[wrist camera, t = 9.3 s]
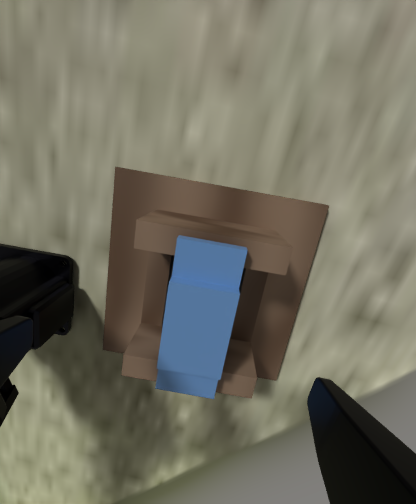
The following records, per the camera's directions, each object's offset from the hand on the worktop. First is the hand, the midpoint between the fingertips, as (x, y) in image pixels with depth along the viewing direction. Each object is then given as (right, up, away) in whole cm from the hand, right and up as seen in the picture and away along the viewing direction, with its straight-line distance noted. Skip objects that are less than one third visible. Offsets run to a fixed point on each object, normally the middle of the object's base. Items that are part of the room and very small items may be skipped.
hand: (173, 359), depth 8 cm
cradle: (+1, +1, +11) cm, 11 cm away
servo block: (+1, +1, +11) cm, 11 cm away
